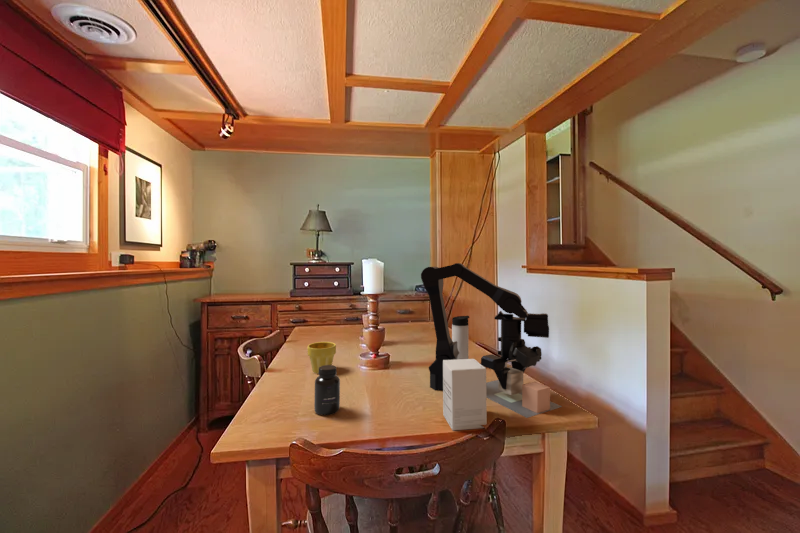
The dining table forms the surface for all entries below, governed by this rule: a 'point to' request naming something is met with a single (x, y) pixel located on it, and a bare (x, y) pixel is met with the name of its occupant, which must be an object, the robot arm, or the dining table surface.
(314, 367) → the plant pot
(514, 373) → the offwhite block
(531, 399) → the terracotta block
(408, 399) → the dining table surface
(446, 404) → the supplement box
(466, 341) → the travel mug
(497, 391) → the build board
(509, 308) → the robot arm
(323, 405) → the supplement bottle
